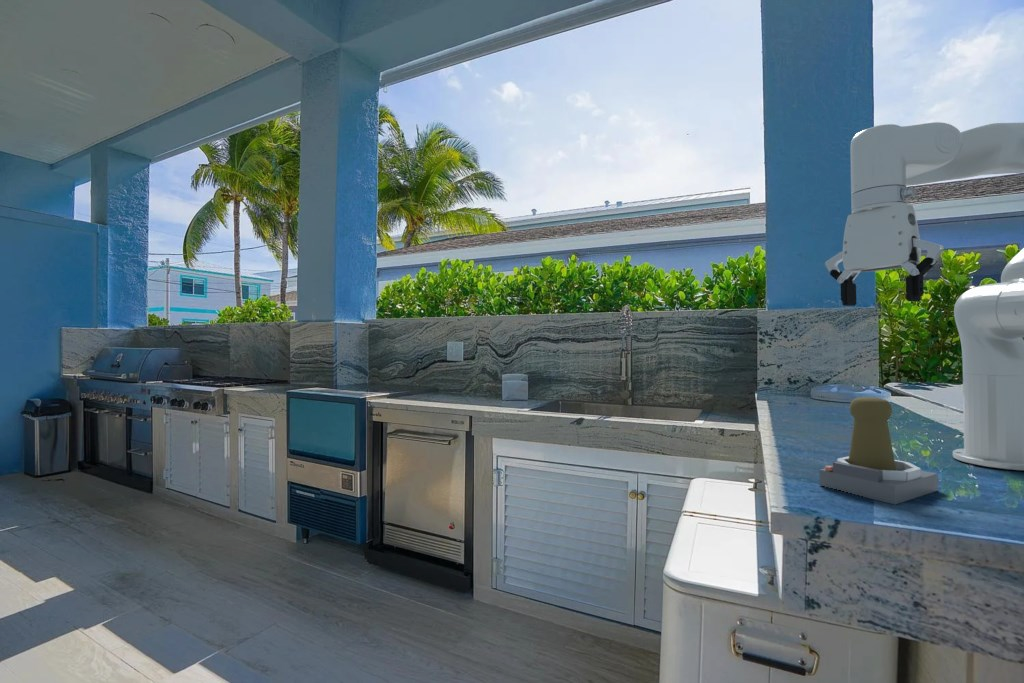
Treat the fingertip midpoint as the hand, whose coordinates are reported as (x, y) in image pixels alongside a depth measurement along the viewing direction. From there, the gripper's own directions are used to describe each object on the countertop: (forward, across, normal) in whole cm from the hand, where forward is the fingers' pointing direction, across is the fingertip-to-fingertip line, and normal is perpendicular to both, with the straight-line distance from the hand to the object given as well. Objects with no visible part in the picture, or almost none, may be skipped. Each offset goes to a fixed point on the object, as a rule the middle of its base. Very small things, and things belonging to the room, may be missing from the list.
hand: (879, 303), depth 84 cm
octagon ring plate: (+28, -5, +12) cm, 31 cm away
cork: (+26, -4, +12) cm, 29 cm away
